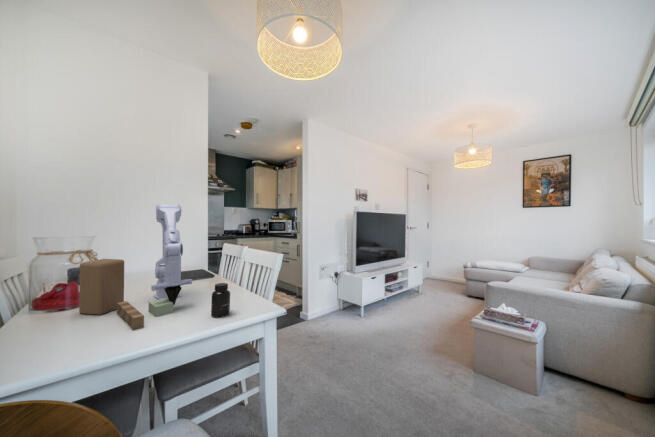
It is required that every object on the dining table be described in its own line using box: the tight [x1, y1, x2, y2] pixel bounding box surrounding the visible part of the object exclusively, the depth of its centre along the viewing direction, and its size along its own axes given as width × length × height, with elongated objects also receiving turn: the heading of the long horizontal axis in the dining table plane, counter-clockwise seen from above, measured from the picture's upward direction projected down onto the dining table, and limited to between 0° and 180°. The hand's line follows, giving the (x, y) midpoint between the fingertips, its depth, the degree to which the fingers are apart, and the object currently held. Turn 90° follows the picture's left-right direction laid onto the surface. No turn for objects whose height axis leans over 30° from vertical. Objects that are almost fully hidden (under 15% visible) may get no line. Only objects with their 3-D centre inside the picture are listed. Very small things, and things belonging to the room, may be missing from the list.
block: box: [78, 258, 125, 316], centre depth 100 cm, size 10×10×20 cm
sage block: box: [148, 298, 174, 318], centre depth 99 cm, size 8×6×4 cm
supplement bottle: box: [210, 282, 231, 318], centre depth 98 cm, size 7×7×12 cm
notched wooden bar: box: [116, 300, 145, 331], centre depth 92 cm, size 22×3×4 cm, turn 51°
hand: (172, 304), depth 103 cm, fingers closed
